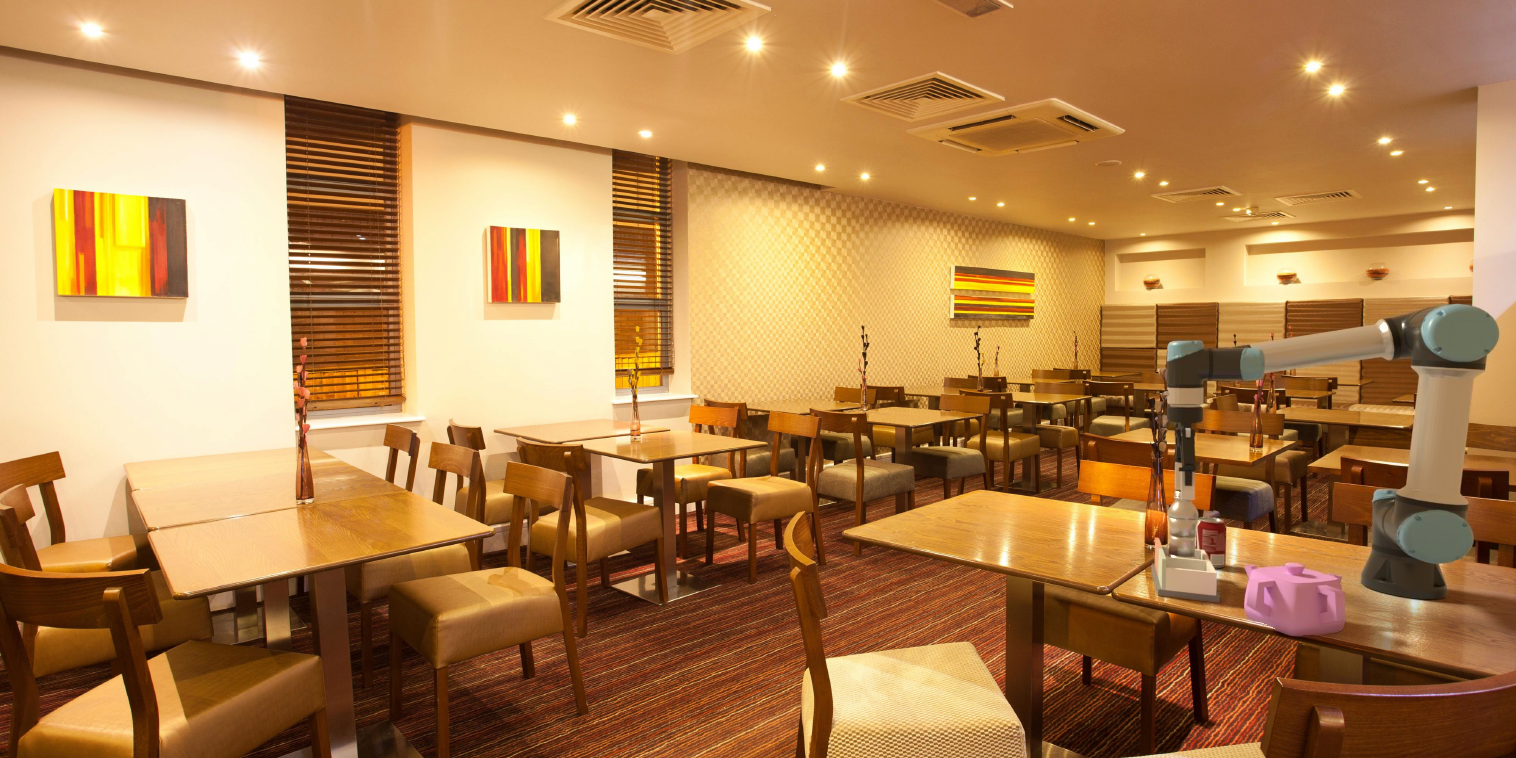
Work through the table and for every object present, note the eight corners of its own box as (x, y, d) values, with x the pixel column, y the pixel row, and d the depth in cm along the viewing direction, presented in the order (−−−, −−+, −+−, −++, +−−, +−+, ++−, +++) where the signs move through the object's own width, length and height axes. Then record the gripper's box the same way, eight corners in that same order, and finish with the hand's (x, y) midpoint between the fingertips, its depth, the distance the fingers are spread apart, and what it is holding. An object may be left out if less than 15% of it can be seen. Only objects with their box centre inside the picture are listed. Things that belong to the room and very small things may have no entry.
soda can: (1229, 570, 190) (1231, 522, 190) (1200, 568, 192) (1201, 521, 191) (1219, 562, 197) (1220, 516, 196) (1190, 561, 198) (1191, 515, 198)
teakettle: (1245, 629, 151) (1247, 568, 150) (1242, 604, 166) (1243, 548, 165) (1353, 647, 142) (1355, 581, 142) (1339, 618, 157) (1341, 559, 156)
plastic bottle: (1159, 571, 185) (1161, 489, 184) (1181, 568, 187) (1183, 487, 186) (1181, 579, 178) (1183, 494, 178) (1204, 576, 180) (1205, 492, 180)
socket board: (1206, 576, 185) (1207, 542, 185) (1219, 602, 166) (1220, 564, 166) (1151, 570, 190) (1152, 537, 190) (1157, 595, 171) (1158, 558, 171)
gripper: (1162, 401, 194) (1162, 484, 195) (1172, 409, 171) (1171, 503, 172) (1196, 401, 191) (1195, 486, 192) (1210, 409, 168) (1210, 505, 169)
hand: (1184, 494), depth 182 cm, fingers open, 13 cm apart
